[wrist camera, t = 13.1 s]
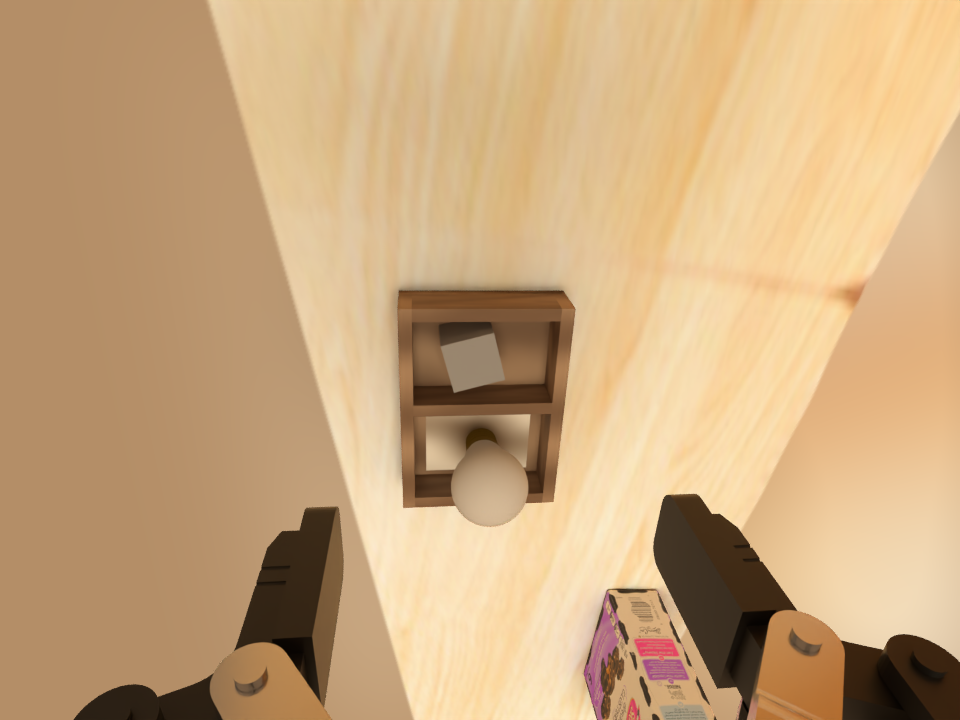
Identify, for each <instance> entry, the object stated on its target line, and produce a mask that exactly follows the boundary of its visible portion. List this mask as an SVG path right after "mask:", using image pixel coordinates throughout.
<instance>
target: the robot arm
mask: <svg viewBox="0 0 960 720" xmlns="http://www.w3.org/2000/svg"><path fill="white" fill-rule="evenodd" d="M653 549H654V557H655V562H656V565H657V567H658V569H659V572H660V574H661V576H662V578H663V580H664V582H665V584H666V586H667V588H668V590H669V592H670V594H671V596H672V598H673V600H674V602H675V604H676V606H677V608H678V610H679V612H680V614H681V616H682V618H683V620H684V622H685V624H686V626H687V628H688V630H689V632H690V634H691V636H692V638H693V640H694V642H695V644H696V646H697V648H698V650H699V652H700V654H701V656H702V658H703V660H704V663H705V664H706V666H707V669H708V670H709V672H710V675H711V676H712V679H713V680H714V683H715V685H716V687H717V689H718V688H731V687H737V689H738V691H739V693H740V694H741V696H742V699H741V701H740V704H739V707H738V712H737V717H736V720H960V662H959V661H958V660H957V659H956V658H955V657H954V656H952V655H951V654H950V653H949V652H947V651H946V650H945V649H943V648H941V647H940V646H938V645H936V644H935V643H932V642H931V641H929V640H925V639H924V638H920V637H917V636H913V635H905V634H902V635H896V636H893V637H891V638H890V639H889V641H888V642H887V644H886V646H885V648H884V650H881V649H877V648H872V647H867V646H862V645H858V644H854V643H849V642H845V641H841V640H840V639H839V638H838V636H837V635H836V634H835V633H834V631H833V630H832V629H831V628H829V627H828V626H827V625H826V624H825V623H823V622H822V621H820V620H819V619H817V618H815V617H813V616H811V615H809V614H806V613H803V612H799V611H797V610H796V608H795V607H794V606H793V604H792V603H791V601H790V600H789V598H788V597H787V596H786V594H785V593H784V591H783V590H782V589H781V587H780V586H779V585H778V583H777V582H776V580H775V579H774V578H773V576H772V575H771V574H770V572H769V571H768V569H767V568H766V566H765V565H764V564H763V562H760V560H759V557H758V555H757V554H756V552H755V551H754V550H753V548H750V544H749V543H748V541H747V540H746V539H745V537H744V536H743V534H742V533H741V532H740V530H739V529H738V528H737V527H736V526H735V525H733V524H732V523H731V522H730V521H728V520H727V519H726V518H724V517H723V516H722V515H721V514H711V512H710V511H709V509H708V508H707V506H706V505H705V503H704V502H703V500H702V499H701V498H700V496H698V495H697V494H679V495H666V496H665V497H664V499H663V502H662V506H661V510H660V515H659V520H658V524H657V529H656V533H655V538H654V545H653ZM342 581H343V547H342V536H341V525H340V514H339V508H338V507H312V508H306V509H305V512H304V515H303V519H302V523H301V527H300V531H282V532H281V533H280V534H279V535H278V536H277V537H276V539H275V540H274V541H273V542H272V543H271V545H270V546H269V547H268V548H267V551H266V554H265V557H264V560H263V563H262V569H261V571H260V573H259V576H258V580H257V585H256V586H255V589H254V592H253V595H252V598H251V602H250V605H249V608H248V611H247V614H246V617H245V621H244V624H243V627H242V630H241V633H240V636H239V639H238V642H237V645H236V648H235V650H234V652H232V653H231V654H230V655H228V656H227V657H226V658H225V659H224V660H223V661H222V662H221V663H220V664H219V666H218V667H217V669H216V670H215V672H214V673H213V674H212V675H210V676H209V677H208V678H206V679H204V680H202V681H200V682H198V683H196V684H193V685H191V686H188V687H185V688H182V689H180V690H176V691H174V692H171V693H168V694H165V695H162V696H159V697H157V695H156V694H155V692H154V691H153V690H151V689H150V688H148V687H146V686H143V685H136V684H135V685H125V686H120V687H118V688H114V689H112V690H109V691H107V692H105V693H103V694H102V695H100V696H98V697H97V698H95V699H94V700H93V701H91V702H90V703H89V704H88V705H86V706H85V707H84V708H83V709H82V710H81V711H80V713H78V715H77V716H76V717H75V719H74V720H332V719H331V717H330V716H329V714H328V713H327V711H326V710H325V709H324V705H325V698H326V692H327V685H328V677H329V671H330V664H331V657H332V650H333V643H334V637H335V630H336V623H337V616H338V609H339V602H340V595H341V589H342Z"/></svg>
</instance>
